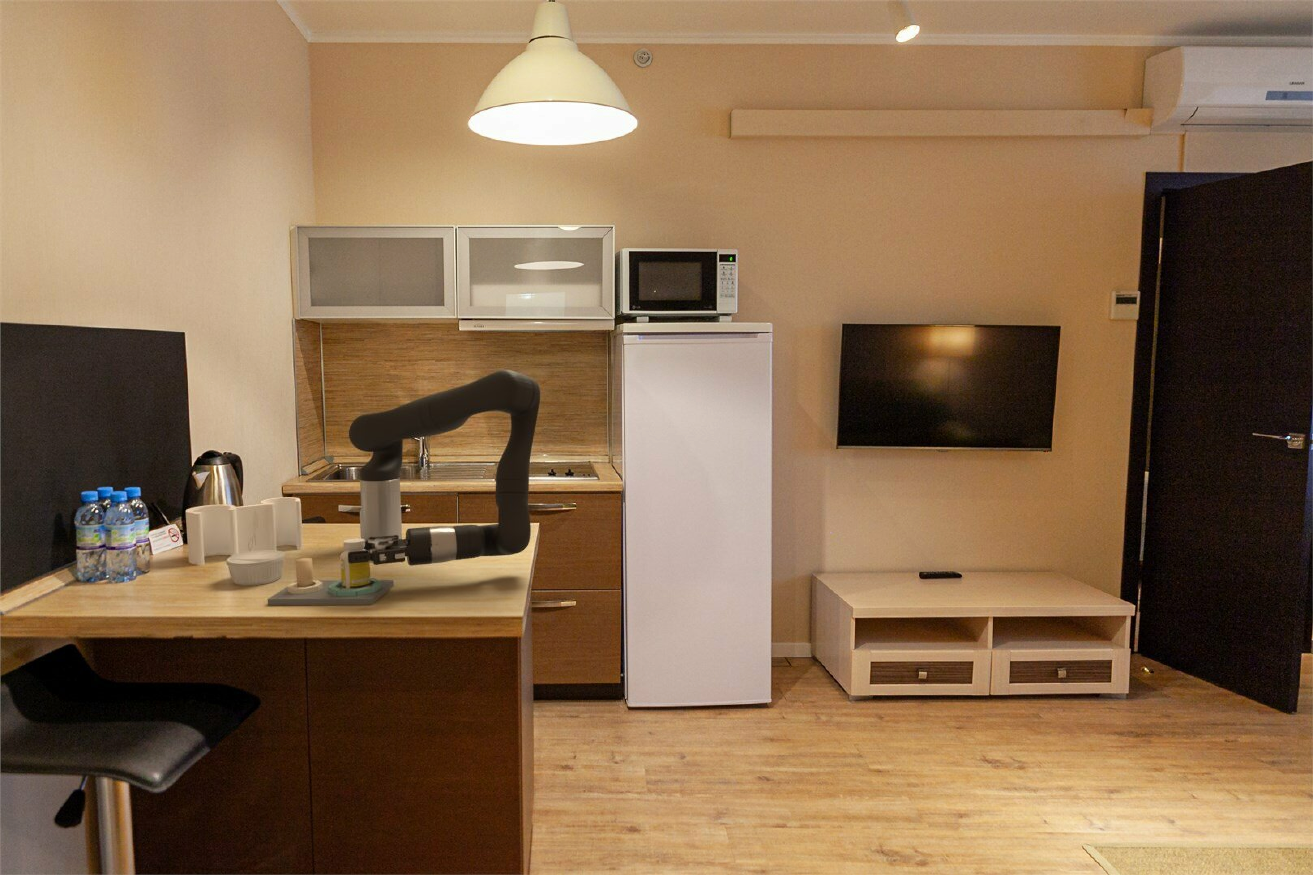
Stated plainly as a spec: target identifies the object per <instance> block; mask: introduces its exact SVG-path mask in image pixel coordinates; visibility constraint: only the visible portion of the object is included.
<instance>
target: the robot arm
mask: <svg viewBox="0 0 1313 875" xmlns="http://www.w3.org/2000/svg"><path fill="white" fill-rule="evenodd" d="M540 403H541V388H540V385H539V383H538V382H537V381H536V380H535V379H534V378H533V377H531V376H528V375H526V374H523V373H520V372H518V371H516V370H511V369H500V370H497V371H494V372H492V373H490V374H488V375H485V376H484V377H481V378H479V379H477V380H475V381H472V382H470V383H467V384H464V385H460V386H456V387H453V388H450V389H446V390H443V391H439V392H435V393H432V394H429V395H427V396H423V397H421V398H418V399H416V400H415V399H414V400H412V401H409V402H406V403H405V404H402V405H400V406H398V407H395V408H391V409H390V410H385V411H381V412H371V413H364V414H362V415H361V414H360V415H359V416H357V417H356V418H355V419H354V420H353V421H352V422H351V424H350V426H349V429H348V438H349V441H350V442H351V445H353V446H354V447H355V448H356V449H357V450H359V451H361V452H365V453H372V456H371V458H370V459H369V461H367V462H366V464H364V465H362V466H361V468H359V484H360V485H359V488H360V506H361V507H360V509H359V524H360V525H359V527H360V529H359V530H360V531H359V532H360V538H361V539H364V540H365V547H364V549H365V550H362V551H351V552H348V562H349V563H350V564H352V563H362V562H369V563H371V564H373V565H375V566H378V565H387V564H394V563H395V564H396V563H404V562H406V561H407V564H408V565H409V566H411V567H412V566H413V567H414V566H422V565H432V564H442V563H447V562H451V561H459V560H468V559H469V560H470V559H475V558H481V557H499V556H510V555H511V556H512V555H516V554H520V553H522V552H523V551H524V550H526V549H527V547H528V545H529V543H530V541H531V534H532V533H531V530H532V529H531V516H530V507H529V494H530V493H529V492H530V491H529V490H530V488H529V487H530V486H529V485H530V464H531V455H532V447H533V442H534V437H535V431H536V427H537V426H536V425H537V419H538V415H539V410H540ZM495 411H496V412H501V413H506V414H508V415H510V435H509V439H508V440H507V441H508V442H507V444H506V446H505V449H504V451H503V453H502V455H501V457H500V458H499V461H498V463H497V467H496V471H495V472H496V474H495V505H496V507H497V509H498V510H497V511H498V512H497V513H498V514H497V516H498V517H497V518H498V519H497V521H498V523H493V524H484V525H477V524H463V525H462V524H461V525H438V526H437V525H436V526H435V525H434V526H422V527H412V528H408V529H406V531H405V538H403V533H402V532H403V530H402V527H403V526H402V525H403V524H402V506H401V504H402V502H401V499H402V498H401V475H400V474H401V472H400V471H401V468H402V466H403V454H404V453H403V451H404V450H403V449H404V448H403V446H404V442H403V440H410V439H419V438H426V437H427V438H428V437H432V436H438V435H442V434H444V433H448V432H453V431H455V430H457V429H459V428H460V427H462V426H464V424H465V423H467V421H468V420H469V419H470V417H472V416H474V415H478V414H483V413H487V412H495Z"/></svg>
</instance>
